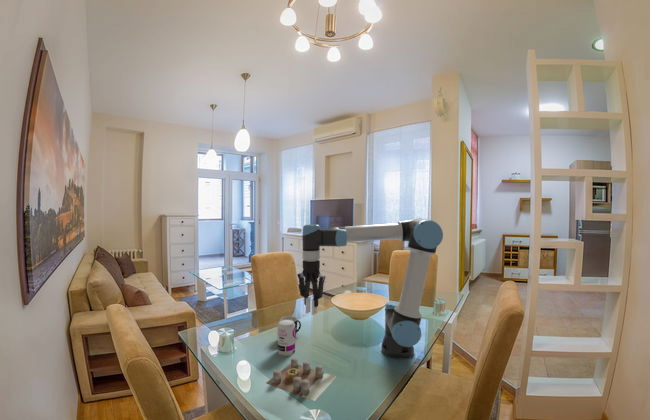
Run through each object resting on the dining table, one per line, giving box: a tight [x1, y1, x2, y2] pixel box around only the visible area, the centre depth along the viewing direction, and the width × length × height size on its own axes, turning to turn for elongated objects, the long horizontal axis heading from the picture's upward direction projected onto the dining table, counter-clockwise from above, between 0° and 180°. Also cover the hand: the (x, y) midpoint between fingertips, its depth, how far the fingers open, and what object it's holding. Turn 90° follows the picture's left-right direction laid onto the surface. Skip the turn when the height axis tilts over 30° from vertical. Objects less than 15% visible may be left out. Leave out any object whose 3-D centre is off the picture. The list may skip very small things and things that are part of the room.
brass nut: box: [286, 368, 299, 381], centre depth 116 cm, size 4×5×3 cm
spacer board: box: [266, 357, 337, 402], centre depth 115 cm, size 22×17×5 cm
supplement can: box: [277, 319, 296, 357], centre depth 137 cm, size 8×8×15 cm
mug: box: [279, 315, 302, 338], centre depth 154 cm, size 12×9×10 cm
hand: (311, 313), depth 128 cm, fingers open, 3 cm apart
